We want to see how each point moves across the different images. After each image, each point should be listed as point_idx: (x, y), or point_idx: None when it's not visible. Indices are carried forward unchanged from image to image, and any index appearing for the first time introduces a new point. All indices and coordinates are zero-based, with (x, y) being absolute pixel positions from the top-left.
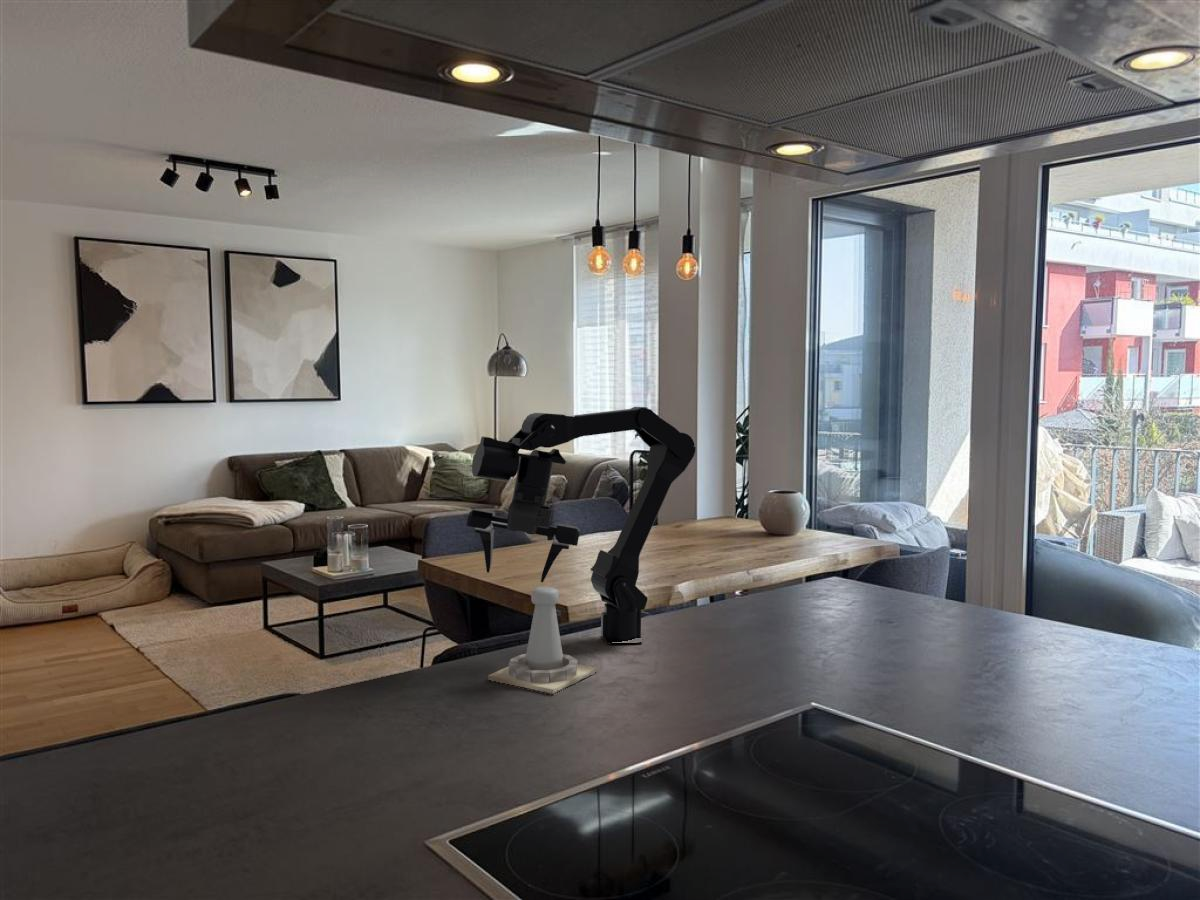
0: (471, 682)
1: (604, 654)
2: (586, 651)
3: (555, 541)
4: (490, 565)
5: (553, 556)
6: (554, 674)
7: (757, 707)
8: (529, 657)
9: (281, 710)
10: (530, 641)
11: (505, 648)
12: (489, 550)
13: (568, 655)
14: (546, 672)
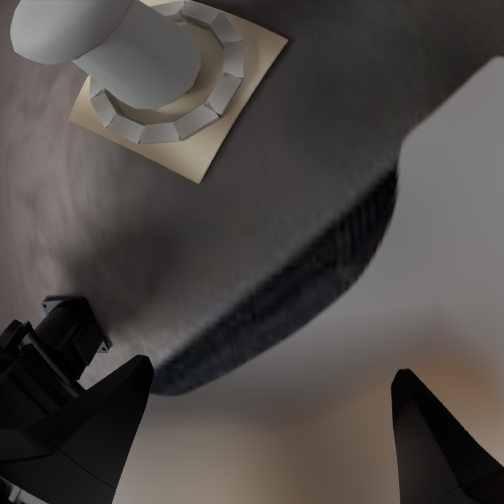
0: (318, 36)
1: (75, 241)
2: (107, 257)
3: (11, 490)
4: (404, 398)
5: (44, 430)
6: None
7: None
8: (188, 32)
9: (494, 16)
10: (178, 28)
11: (278, 267)
12: (450, 449)
13: (107, 128)
14: (152, 7)
